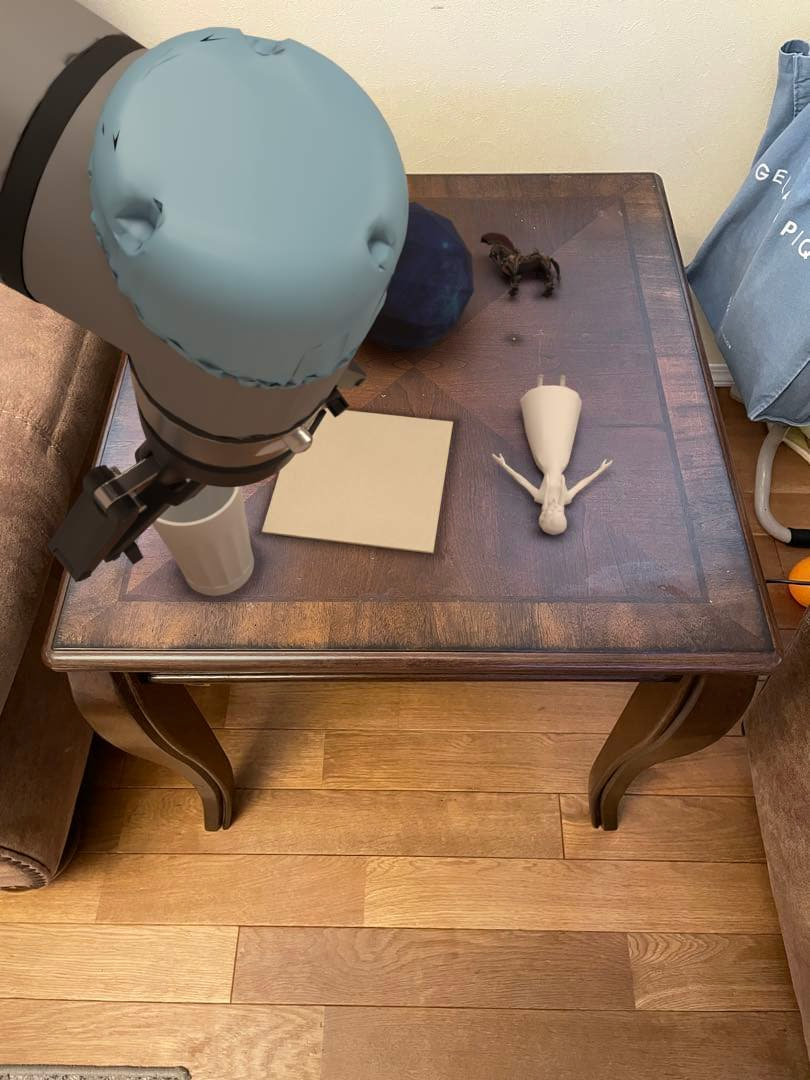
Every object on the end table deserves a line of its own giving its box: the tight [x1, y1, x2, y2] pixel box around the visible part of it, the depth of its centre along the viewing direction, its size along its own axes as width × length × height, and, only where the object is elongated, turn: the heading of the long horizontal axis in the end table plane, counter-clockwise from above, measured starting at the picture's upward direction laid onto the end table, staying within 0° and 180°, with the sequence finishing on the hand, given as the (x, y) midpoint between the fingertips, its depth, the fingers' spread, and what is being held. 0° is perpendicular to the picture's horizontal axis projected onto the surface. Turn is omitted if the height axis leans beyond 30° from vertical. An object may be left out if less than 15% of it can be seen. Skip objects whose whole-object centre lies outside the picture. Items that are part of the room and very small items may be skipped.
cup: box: [151, 478, 255, 597], centre depth 67 cm, size 8×8×12 cm
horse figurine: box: [479, 231, 562, 341], centre depth 92 cm, size 9×4×15 cm
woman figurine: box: [491, 374, 614, 536], centre depth 77 cm, size 12×4×18 cm
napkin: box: [261, 408, 454, 555], centre depth 78 cm, size 16×16×1 cm
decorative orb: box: [364, 201, 475, 352], centre depth 84 cm, size 14×15×15 cm
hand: (212, 483), depth 53 cm, fingers open, 13 cm apart
